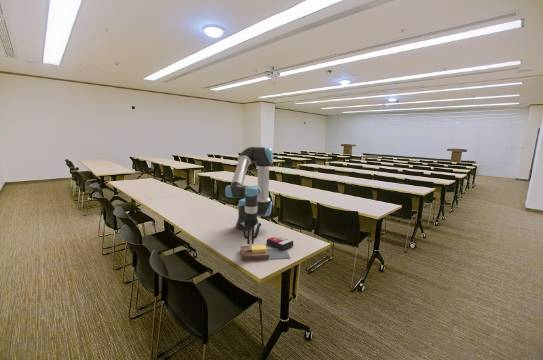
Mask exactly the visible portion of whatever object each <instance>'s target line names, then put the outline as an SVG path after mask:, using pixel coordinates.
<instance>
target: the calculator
mask: <svg viewBox="0 0 543 360" xmlns="http://www.w3.org/2000/svg"><path fill="white" fill-rule="evenodd" d="M266 245H269V246H272V247H273V248H278V249H280V250H285V249H286V250H287V249H289V248H291V247H294V240H292V239H289V238H288V237H287V238H286V237H284V236H281V235H275V236H273V237H269V238H267V239H266Z"/></svg>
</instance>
